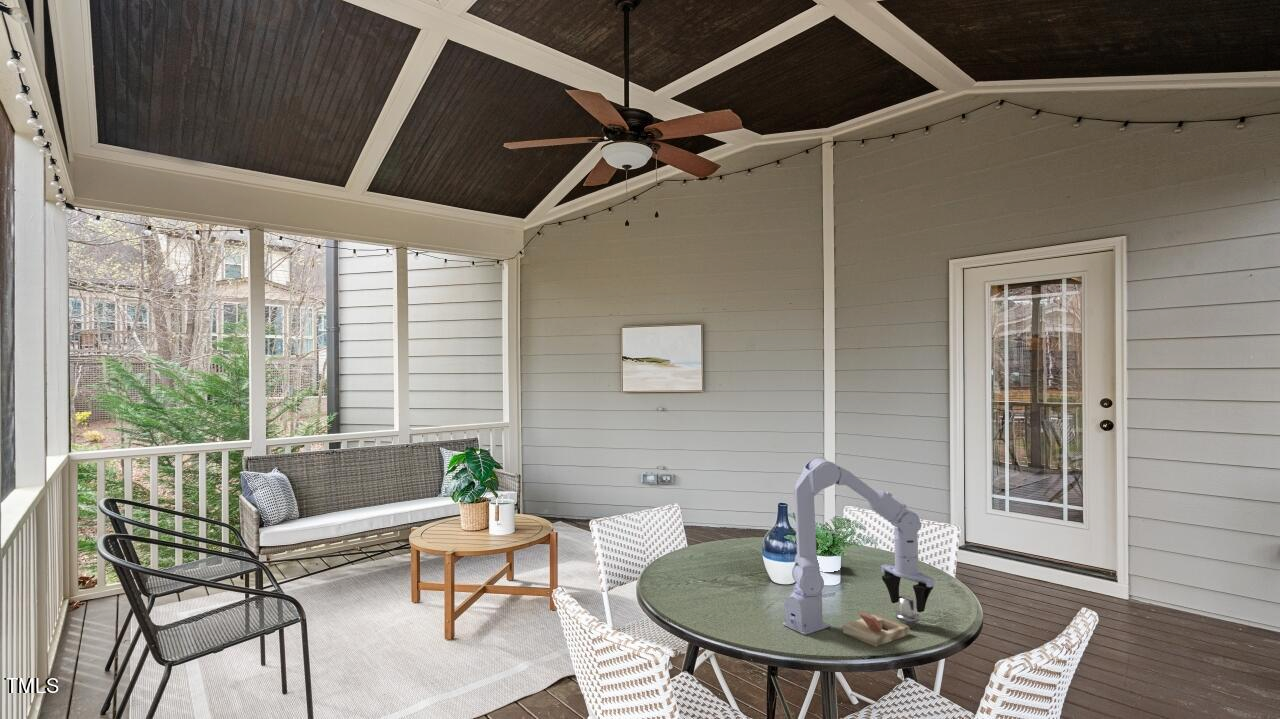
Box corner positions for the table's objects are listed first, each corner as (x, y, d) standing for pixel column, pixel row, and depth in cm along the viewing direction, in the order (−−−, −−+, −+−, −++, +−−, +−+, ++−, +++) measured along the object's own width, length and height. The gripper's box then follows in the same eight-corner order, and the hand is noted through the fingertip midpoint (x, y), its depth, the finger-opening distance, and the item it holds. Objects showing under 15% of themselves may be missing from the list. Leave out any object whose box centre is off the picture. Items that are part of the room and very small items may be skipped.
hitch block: (875, 646, 153) (875, 638, 153) (843, 632, 162) (842, 624, 162) (909, 634, 160) (909, 626, 160) (876, 621, 169) (876, 613, 169)
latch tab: (872, 619, 156) (874, 616, 156) (859, 614, 159) (861, 611, 160) (880, 630, 157) (882, 628, 158) (867, 625, 161) (868, 622, 161)
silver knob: (910, 631, 162) (910, 603, 162) (891, 623, 167) (890, 597, 167) (924, 626, 165) (923, 599, 165) (905, 618, 170) (904, 592, 170)
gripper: (941, 558, 162) (942, 612, 162) (892, 546, 175) (893, 595, 175) (924, 563, 159) (925, 618, 158) (875, 550, 171) (876, 600, 171)
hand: (907, 606), depth 166 cm, fingers open, 7 cm apart
